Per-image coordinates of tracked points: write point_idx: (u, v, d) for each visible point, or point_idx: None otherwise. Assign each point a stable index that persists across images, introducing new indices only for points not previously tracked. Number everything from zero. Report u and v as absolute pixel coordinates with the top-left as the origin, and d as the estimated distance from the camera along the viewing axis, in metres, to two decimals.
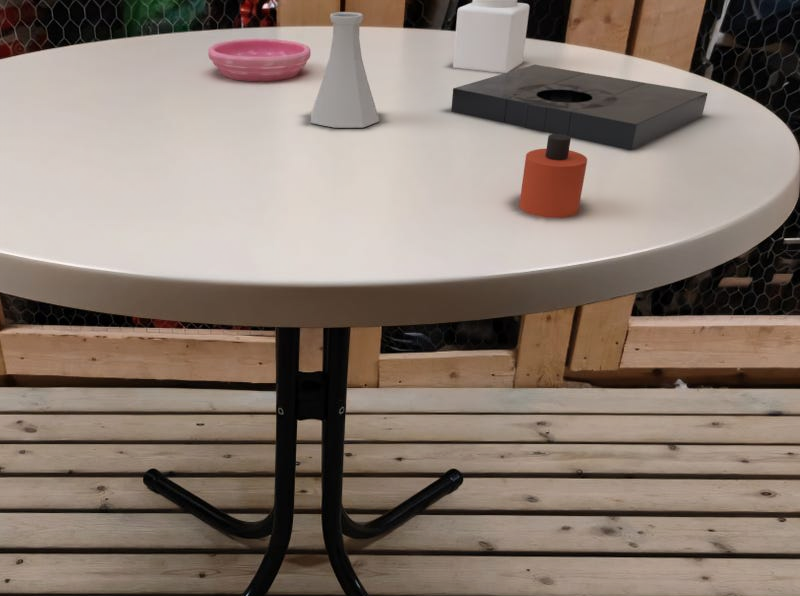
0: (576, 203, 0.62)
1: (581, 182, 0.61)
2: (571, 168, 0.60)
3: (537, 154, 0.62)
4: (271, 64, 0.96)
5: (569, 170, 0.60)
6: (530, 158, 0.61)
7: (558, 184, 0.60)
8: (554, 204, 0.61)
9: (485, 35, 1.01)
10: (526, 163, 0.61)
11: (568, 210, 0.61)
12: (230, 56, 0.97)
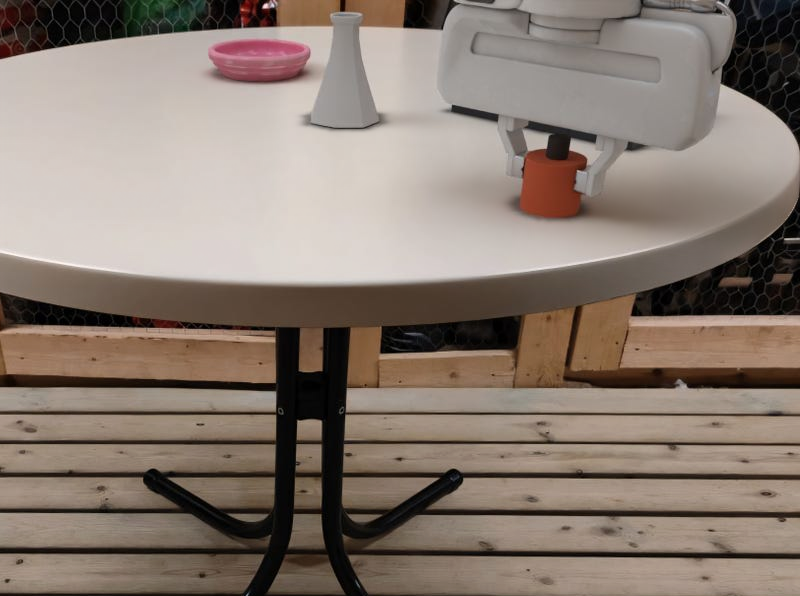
0: (576, 203, 0.62)
1: None
2: (572, 168, 0.60)
3: (537, 154, 0.62)
4: (271, 64, 0.96)
5: (570, 170, 0.60)
6: (531, 158, 0.61)
7: (558, 185, 0.60)
8: (554, 204, 0.61)
9: None
10: (526, 163, 0.61)
11: (568, 210, 0.61)
12: (230, 56, 0.97)
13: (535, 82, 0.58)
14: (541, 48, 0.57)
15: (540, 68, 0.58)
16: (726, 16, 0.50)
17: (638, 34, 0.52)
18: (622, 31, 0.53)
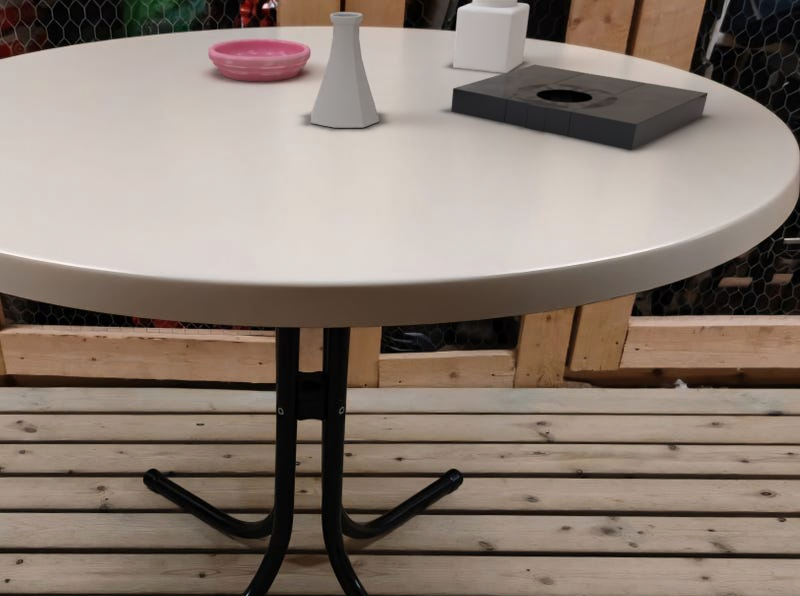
0: None
1: None
2: None
3: None
4: (271, 64, 0.96)
5: None
6: None
7: None
8: None
9: (485, 35, 1.01)
10: None
11: None
12: (230, 56, 0.97)
13: None
14: None
15: None
16: None
17: None
18: None
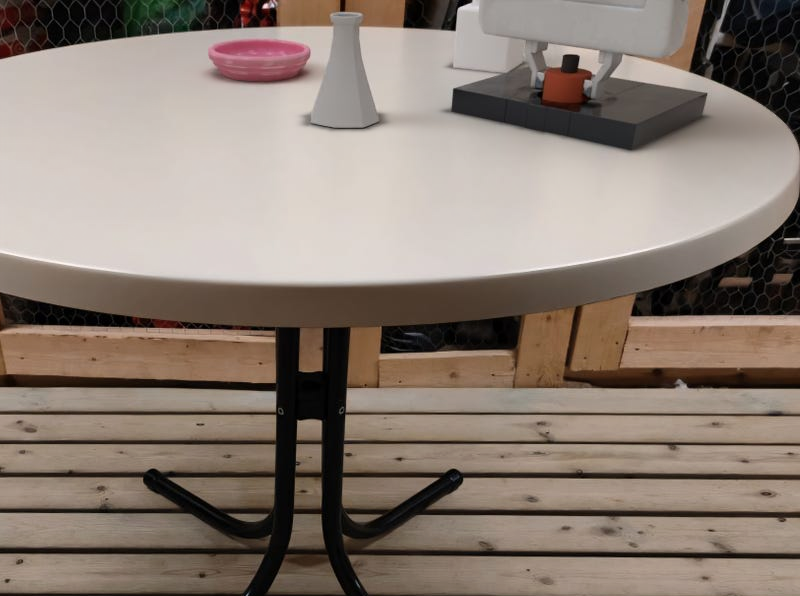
0: None
1: None
2: (580, 78, 0.80)
3: (554, 70, 0.82)
4: (271, 64, 0.96)
5: (579, 80, 0.80)
6: (549, 72, 0.81)
7: (570, 91, 0.81)
8: None
9: (485, 35, 1.01)
10: (546, 76, 0.82)
11: None
12: (230, 56, 0.97)
13: (553, 12, 0.79)
14: None
15: (557, 2, 0.78)
16: None
17: None
18: None
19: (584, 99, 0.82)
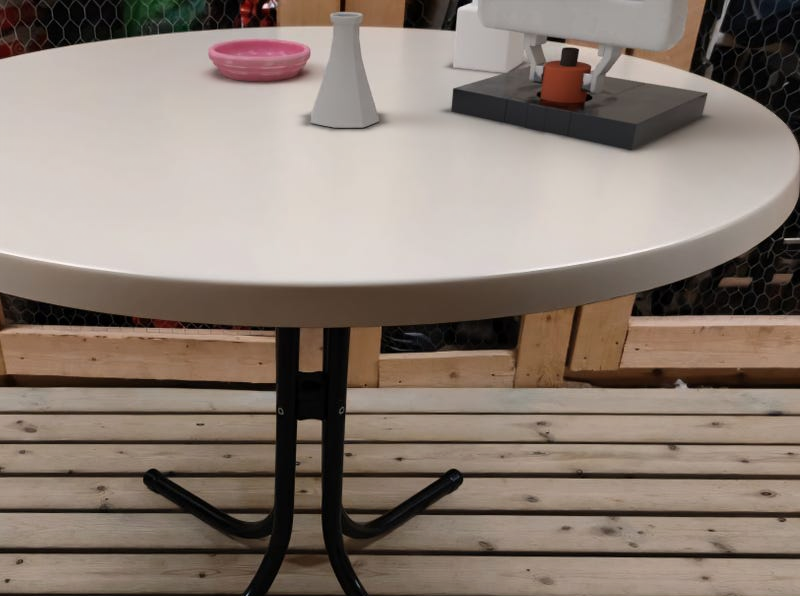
0: (583, 100, 0.82)
1: None
2: (580, 72, 0.80)
3: (553, 63, 0.82)
4: (271, 64, 0.96)
5: (578, 73, 0.80)
6: (548, 65, 0.81)
7: (569, 84, 0.80)
8: (566, 100, 0.81)
9: (485, 35, 1.01)
10: (545, 69, 0.82)
11: None
12: (230, 56, 0.97)
13: (553, 5, 0.78)
14: None
15: None
16: None
17: None
18: None
19: (583, 92, 0.81)
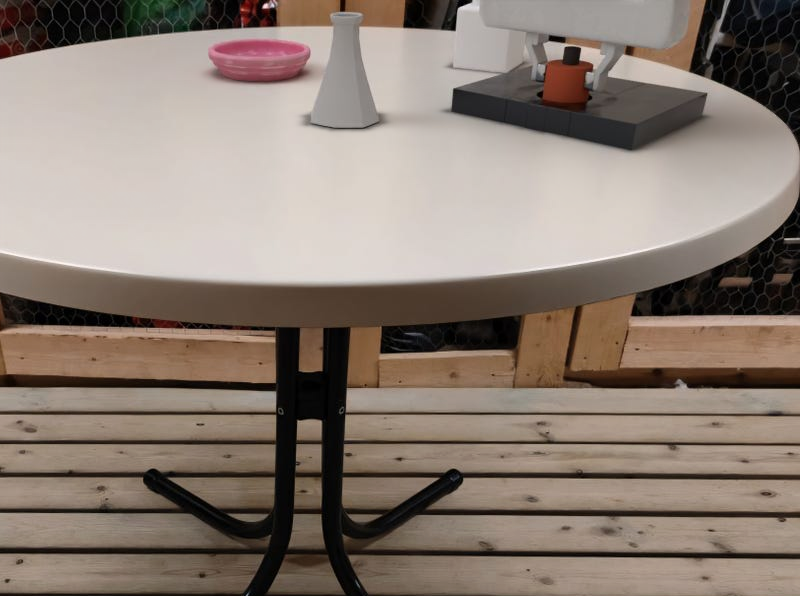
0: (585, 99, 0.82)
1: None
2: (582, 70, 0.80)
3: (556, 62, 0.82)
4: (271, 64, 0.96)
5: (580, 72, 0.80)
6: (551, 64, 0.81)
7: (571, 83, 0.80)
8: (569, 99, 0.81)
9: (485, 35, 1.01)
10: (547, 68, 0.81)
11: None
12: (230, 56, 0.97)
13: (555, 4, 0.78)
14: None
15: None
16: None
17: None
18: None
19: (585, 91, 0.81)
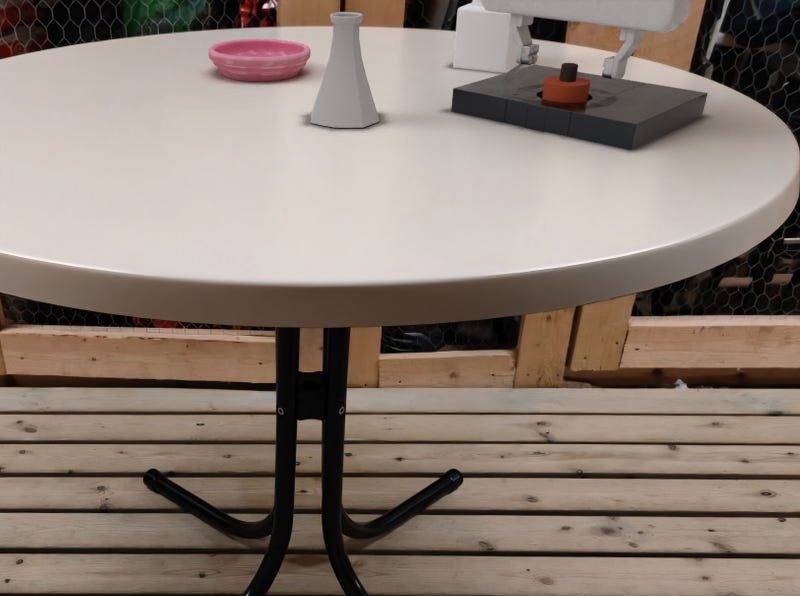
0: None
1: (586, 99, 0.82)
2: (579, 87, 0.81)
3: (553, 78, 0.83)
4: (271, 64, 0.96)
5: (577, 88, 0.81)
6: (548, 81, 0.82)
7: (568, 99, 0.81)
8: None
9: (485, 35, 1.01)
10: (545, 85, 0.82)
11: None
12: (230, 56, 0.97)
13: None
14: None
15: None
16: None
17: None
18: None
19: None
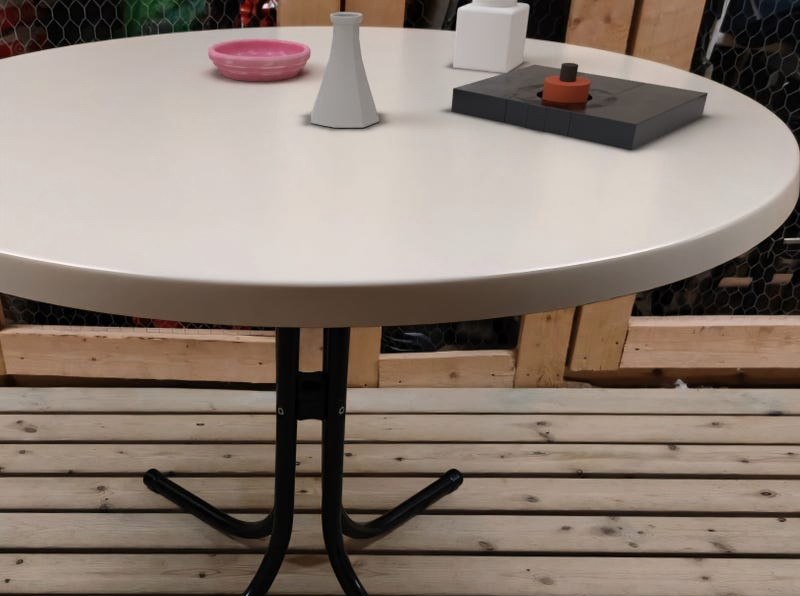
0: None
1: (586, 99, 0.82)
2: (579, 87, 0.81)
3: (553, 78, 0.83)
4: (271, 64, 0.96)
5: (577, 88, 0.81)
6: (548, 81, 0.82)
7: (568, 99, 0.81)
8: None
9: (485, 35, 1.01)
10: (545, 85, 0.82)
11: None
12: (230, 56, 0.97)
13: None
14: None
15: None
16: None
17: None
18: None
19: None
